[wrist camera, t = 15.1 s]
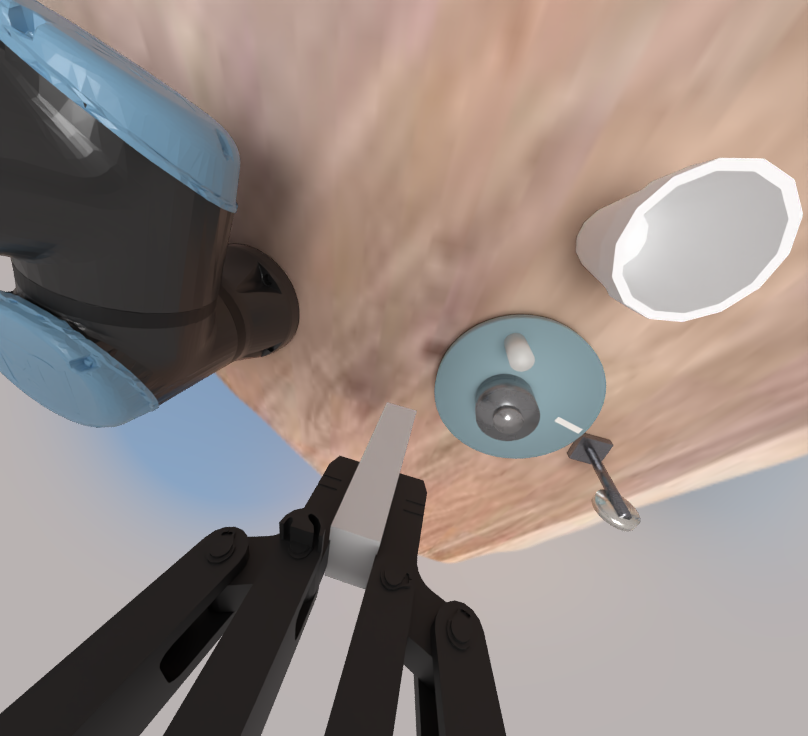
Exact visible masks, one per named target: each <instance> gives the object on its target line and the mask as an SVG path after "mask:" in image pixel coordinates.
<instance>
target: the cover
mask: <svg viewBox="0 0 808 736" xmlns="http://www.w3.org/2000/svg"><path fill="white" fill-rule="evenodd" d="M475 415H476V422H477V425H478V427H479V428H480V429H481V431H482V432H483V433H485V434H486V435H487V436H489V437H491V438H493V439H496V440H500V441H515V440H519V439H522V438H524V437H526V436H528V435H529V434H531V433H532V432H533V431H534V430H535V429H536V427H537V426H538V424H539V421H540V410H539V407H538V405H537V402H536V399H535V397H534V394H533V391H532V389H531V387H530V385H529V384H528V383H527V382H526V381H525V380H524V379H522V378H520V377H518V376H516V375H512V374H498V375H494V376H491V377H489V378H487V379H486V380H484V381H483V382H482V383H481V384H480V385H479V387H478V388H477V390H476V393H475Z"/></svg>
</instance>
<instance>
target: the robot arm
mask: <svg viewBox="0 0 808 736" xmlns="http://www.w3.org/2000/svg"><path fill="white" fill-rule="evenodd" d="M239 172H240V155H239V151H238V149H237V146H236V144H235V142H234V140H233V139H232V137H231V136H230V135H229V133H228V132H227V131H226V130H225V129H224V128H223V127H222V126H221V125H220V124H219V123H218V122H217V121H215V120H214V119H213V118H212V117H210V116H209V115H208V114H206V113H205V112H204V111H202V110H201V109H200V108H198V107H197V106H196V105H194V104H193V103H192V102H190V101H189V100H188V99H186V98H185V97H183V96H182V95H180V94H179V93H178V92H176V91H175V90H173V89H172V88H171V87H169V86H168V85H166V84H165V83H163V82H162V81H160V80H159V79H157V78H156V77H155V76H153V75H152V74H150V73H149V72H147V71H146V70H144V69H143V68H141V67H140V66H138V65H137V64H135V63H134V62H132V61H131V60H129V59H128V58H126V57H125V56H123V55H122V54H120V53H119V52H117V51H116V50H114V49H113V48H111V47H110V46H108V45H107V44H105V43H103V42H102V41H100V40H99V39H97V38H96V37H94V36H93V35H91V34H90V33H88V32H86V31H85V30H83V29H82V28H80V27H79V26H77V25H76V24H74V23H72V22H71V21H69V20H67V19H66V18H64V17H63V16H61V15H59V14H58V13H56V12H54V11H53V10H50V9H49V8H47V7H45V6H44V5H42V4H41V3H39V2H37V1H36V0H0V255H1V256H8V257H11V261H12V266H13V271H14V277H15V284H16V288H15V289H14V290H13V291H11V292H5V291H1V290H0V372H1V373H2V374H3V375H4V376H6V378H8V379H9V380H10V381H11V382H12V383H13V384H14V385H16V386H17V387H18V388H19V389H20V390H22V391H23V392H24V393H26V394H27V395H28V396H29V397H31V398H32V399H34V400H35V401H37V402H38V403H40V404H41V405H43V406H44V407H46V408H47V409H49V410H51V411H52V412H54V413H56V414H58V415H60V416H62V417H64V418H66V419H68V420H70V421H73V422H76V423H78V424H82V425H85V426H90V427H96V428H100V427H115V426H119V425H122V424H125V423H127V422H129V421H131V420H133V419H135V418H137V417H139V416H142V415H144V414H146V413H148V412H151V411H154V410H155V409H157V408H159V407H158V406H159V405H161V404H162V403H164V402H165V401H167V400H169V399H171V398H172V397H174V396H176V395H177V394H179V393H181V392H183V391H184V390H186V389H188V388H189V387H191V386H193V385H194V384H196V383H198V382H199V381H201V380H203V379H204V378H206V377H208V376H209V375H211V374H213V373H215V372H216V371H218V370H220V369H221V368H223V367H225V366H226V365H228V364H230V363H231V362H233V361H236V360H243V359H250V358H256V357H262V356H266V355H269V354H272V353H274V352H276V351H277V350H279V349H280V348H282V347H283V346H285V345H286V344H287V343H288V342H289V341H290V340H291V339H292V337H293V336H294V334H295V332H296V330H297V326H298V321H299V307H298V301H297V297H296V294H295V291H294V289H293V287H292V285H291V283H290V281H289V279H288V277H287V276H286V274H285V273H284V272H283V270H282V269H281V268H280V267H279V266H278V265H277V264H276V263H275V262H274V261H273V260H272V259H271V258H270V257H268V256H267V255H266V254H264V253H262V252H261V251H259V250H257V249H255V248H252V247H250V246H246V245H242V244H228V240H229V235H230V230H231V225H232V220H233V215H234V213H236V211H237V208H238V205H237V202H236V196H237V188H238V180H239ZM416 412H417V411H416V410H413V409H409V408H405V407H402V406H398V405H395V404H391V403H388V402H387V403H386V406H385V408H384V410H383V412H382V414H381V417H380V419H379V421H378V423H377V425H376V428H375V430H374V432H373V434H372V436H371V439H370V441H369V443H368V445H367V447H366V450H365V452H364V454H363V456H362V458H361V461H360V462H358V461H355V460H352V459H348V458H345V457H342V456H339V457H338V458H336V459H335V460H334V461H332V462H331V463H330V464H329V466H328V467H327V469H326V471H325V473H324V474H323V477H322V478H321V479H320V481H319V483H318V485H317V487H316V488H315V490H314V492H313V493H312V495H311V497H310V499H309V500H308V502H307V504H306V505H305V507H304V508H302V509H297V510H294V511H292V512H290V513H289V514H287V515H286V516H285V517H284V518H283V519H282V520H281V521H280V522H279V526H280V527H279V528H280V534H277V535H274V536H261V537H260V536H259V537H247V535H246V534H245V532H244V531H243V530H241V529H239V528H236V527H224V528H221V529H218V530H215V531H214V532H212V533H211V534H209V535H208V536H206V537H205V538H204V539H202V540H201V541H200V542H199V543H198V544H197V545H196V546H194V547H193V548H192V549H191V550H190V551H189V552H187V553H186V554H185V555H184V556H183V557H182V558H181V559H179V560H178V561H177V562H176V563H175V564H174V565H172V566H171V567H170V568H169V569H168V570H167V571H166V572H165V573H163V574H162V575H161V576H160V577H158V578H157V579H156V580H155V581H154V582H153V583H152V584H150V585H149V586H148V587H147V588H146V589H145V590H144V591H142V592H141V593H140V594H139V595H138V596H136V597H135V598H134V599H133V600H132V601H131V602H129V603H128V604H127V605H126V606H125V607H124V608H122V609H121V610H120V611H119V612H118V613H117V614H116V615H114V617H112V618H111V619H110V620H109V621H107V622H106V623H105V624H104V625H103V626H102V627H100V628H99V629H98V630H97V631H96V632H95V633H93V635H91V636H90V637H89V638H88V639H87V640H85V641H84V642H83V643H82V644H81V645H80V646H78V647H77V648H76V649H75V650H74V651H73V652H71V654H69V655H68V656H67V657H66V658H64V659H63V660H62V661H61V662H60V663H59V664H58V665H56V666H55V667H54V668H53V669H52V670H51V671H49V672H48V673H47V674H46V675H45V676H44V677H42V678H41V679H40V680H39V681H38V682H37V683H35V684H34V685H33V686H32V687H31V688H30V689H28V690H27V691H26V692H25V693H24V694H23V695H22V696H20V697H19V698H18V699H17V700H16V701H15V702H13V703H12V704H11V705H10V706H9V707H8V708H6V709H5V710H4V711H3V712H2V713H1V714H0V736H139V735H140V734H141V733H142V732H143V731H144V729H145V728H146V727H147V726H148V724H149V723H150V722H151V721H152V720H153V718H154V717H155V716H156V715H157V713H158V712H159V711H160V710H161V709H162V708H163V706H164V705H165V704H166V703H167V702H168V700H169V699H170V698H171V697H172V695H173V694H174V693H175V692H176V691H177V689H178V688H179V687H180V686H181V684H182V683H183V682H184V681H185V680H186V679H187V677H188V676H189V675H190V674H191V672H192V671H193V670H194V669H195V668H196V666H197V665H198V664H199V663H200V662H201V660H202V659H203V658H204V657H205V656H206V654H207V653H208V652H209V651H210V649H211V648H212V647H213V646H214V645H215V643H216V642H217V641H218V640H219V639H220V637H221V636H222V637H221V639H220V641H219V642H218V644H217V646H216V647H215V649H214V651H213V652H212V654H211V656H210V657H209V659H208V661H207V662H206V664H205V666H204V668H203V669H202V671H201V673H200V674H199V676H198V678H197V679H196V681H195V683H194V684H193V686H192V688H191V689H190V691H189V693H188V694H187V696H186V698H185V700H184V701H183V703H182V704H181V706H180V708H179V710H178V711H177V713H176V715H175V716H174V718H173V720H172V721H171V723H170V725H169V726H168V728H167V730H166V732H165V733H164V735H163V736H261V734H262V731H263V729H264V726H265V724H266V721H267V719H268V716H269V714H270V711H271V709H272V706H273V704H274V701H275V699H276V697H277V694H278V692H279V689H280V687H281V684H282V681H283V679H284V677H285V674H286V672H287V669H288V667H289V664H290V662H291V659H292V657H293V654H294V652H295V649H296V647H297V645H298V642H299V640H300V637H301V635H302V632H303V630H304V627H305V625H306V622H307V620H308V617H309V615H310V612H311V610H312V607H313V605H314V602H315V600H316V597H317V593H318V589H319V584H320V582H321V579H322V577H323V575H324V572H325V576H328V577H331V578H334V579H337V580H340V581H342V582H345V583H348V584H351V585H354V586H357V587H360V588H363V589H366V590H365V594H364V597H363V601H362V605H361V608H360V612H359V615H358V619H357V622H356V626H355V629H354V633H353V636H352V640H351V643H350V647H349V650H348V654H347V657H346V661H345V665H344V668H343V671H342V675H341V678H340V682H339V685H338V689H337V693H336V696H335V700H334V703H333V707H332V710H331V714H330V718H329V721H328V724H327V728H326V731H325V735H324V736H393V731H394V724H395V717H396V710H397V704H398V697H399V691H400V684H401V677H402V670H403V664H404V665H405V666H406V667H407V668H408V669H409V670H410V671H411V672H412V673H413V674H414V689H415V710H416V731H417V736H506V733H505V728H504V724H503V719H502V714H501V709H500V705H499V700H498V695H497V691H496V686H495V682H494V677H493V672H492V668H491V663H490V659H489V654H488V649H487V645H486V640H485V635H484V631H483V629H482V625H481V623H480V620H479V618H478V617H477V616H476V614H475V613H474V611H473V610H472V609H471V608H469V607H468V606H467V605H466V604H464V603H461V602H458V601H450V602H445V601H444V600H443V599H441V598H440V597H439V596H438V595H436V594H435V593H434V592H433V591H431V590H430V589H429V588H428V587H427V586H426V585H425V583H424V582H423V580H422V579H421V576H420V574H419V572H418V567H417V554H418V548H419V541H420V535H421V528H422V522H423V515H424V509H425V502H426V496H427V491H426V488H425V484H424V481H423V480H420V479H417V478H413V477H410V476H407V475H403V474H400V470H401V467H402V463H403V459H404V456H405V452H406V448H407V445H408V441H409V437H410V434H411V430H412V426H413V423H414V419H415V415H416Z"/></svg>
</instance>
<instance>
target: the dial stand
mask: <svg viewBox="0 0 808 736" xmlns="http://www.w3.org/2000/svg"><path fill="white" fill-rule="evenodd" d="M612 447H613V444H612V442H611V441H610V440H607V439H604V438H600V437H597V436H593V435H590V434H586V433H584V434H583V435H581V436H580V437H579V438H578V439H576V440H575V441H574V443H573V444H572V446H571V448H570V449H569V451H568V452H567V454H568V457H569V458H571V459H574V460H578V461H581V462H585V463H588V464H592V466H593V468H594V470H595V472H596V474H597V476H598V478H599V480H600V482H601V484H602V485H603V487H604V489H605V490H599V491H597V493H596V494H595V495H594V496H593V498H592V505H593V507H594V509H595V511H596V512H597V513H598V515H599V516H600V517H601V518H602V519H603V520H605V521H606V522H607V523H609V524H610V525H612V526H613V527H615V528H617V529H620V530H623V531H632V530H633V529H634V528H635V527H636V526H637V525H638V524H639V523H640V516H639V514H638V512H637V511H636V509H635V508H634V507H633V506H632V505H631V504H630V503H629V502H628V501H627V500H626V499H624V498H623V497H621V495H620V494H619V492H618V490H617V488H616V486H615V485H614V483H613V481H612V479H611V477H610V476H609V474H608V472H607V470H606V469H605V467H604V465H603V463H602V460H603V459H604V458H605V456H606V455H607V453H608V452H609V451H610V449H611V448H612Z"/></svg>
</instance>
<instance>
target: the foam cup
mask: <svg viewBox="0 0 808 736" xmlns="http://www.w3.org/2000/svg"><path fill="white" fill-rule="evenodd" d="M802 216H803V212H802V208H801V204H800V200H799V196H798V192H797V188H796V183H795V179H793V178H792V177H790V176H789V175H787V174H786V173H784V172H783V171H782V170H780V169H779V168H777V167H776V166H774V165H773V164H771V163H770V162H768V161H767V160H765V159H760V158H718V159H714V160H710V161H706V162H702V163H698V164H695V165H691V166H688V167H686V168H684V169H681V170H679V171H676V172H674V173H671V174H669V175H667V176H664V177H662V178H659V179H657V180H654V181H652V182H650V183H649V184H648V185H647V186H646V187H645V188H644V189H642V190H640V191H638V192H635V193H633V194H631V195H629V196H627V197H625V198H623V199H620V200H618V201H616V202H614V203H612V204H610V205H608V206H605V207H603V208H601V209H599V210H597V211H596V212H595V213H594V214H593V215H592V216H591V217H590V218H588V219H587V220H586V221H585V222H584V224H583V226H582V228H581V230H580V232H579V233H578V235H577V239H576V253H577V255H578V257H579V260H580V262H581V263H582V265H583V266H584V267H585V268H586V269H587V270H588V271H589V272H590V273H591V274H592V275H593V276H594V277H595V278H596V279H597V280H598V281H599V282H600V283H601V284H602V285H603V286H604V287H605V288H606V289H607V291H608V294H609V296H611V297H612V298H614V299H615V300H617V301H619V302H620V303H622V304H623V305H625V306H627V307H628V308H630V309H631V310H633V311H635V312H637V313H639V314H641V315H642V316H644V317H646V318H648V319H657V320H668V321H679V322H684V321H688V320H691V319H695V318H699V317H703V316H706V315H710V314H714V313H718V312H721V311H723V310H725V309H726V308H728V307H730V306H731V305H733V304H734V303H736V302H738V301H739V300H741V299H743V298H744V297H746V296H747V295H749V294H751V293H752V292H754V291H755V290H757V289H759V288H760V287H761V286H762V285H763V283H764V282H765V281H766V280H767V279H768V278H769V277H770V275H771V274H772V273H773V272H774V271H775V270H776V269H777V267H778V266H779V265H780V264H781V263H782V262H783V260H784V259H785V258H786V257H787V256H788V255H789V253H790V251H791V248H792V245H793V242H794V239H795V236H796V233H797V230H798V228H799V225H800V222H801V219H802Z"/></svg>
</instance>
